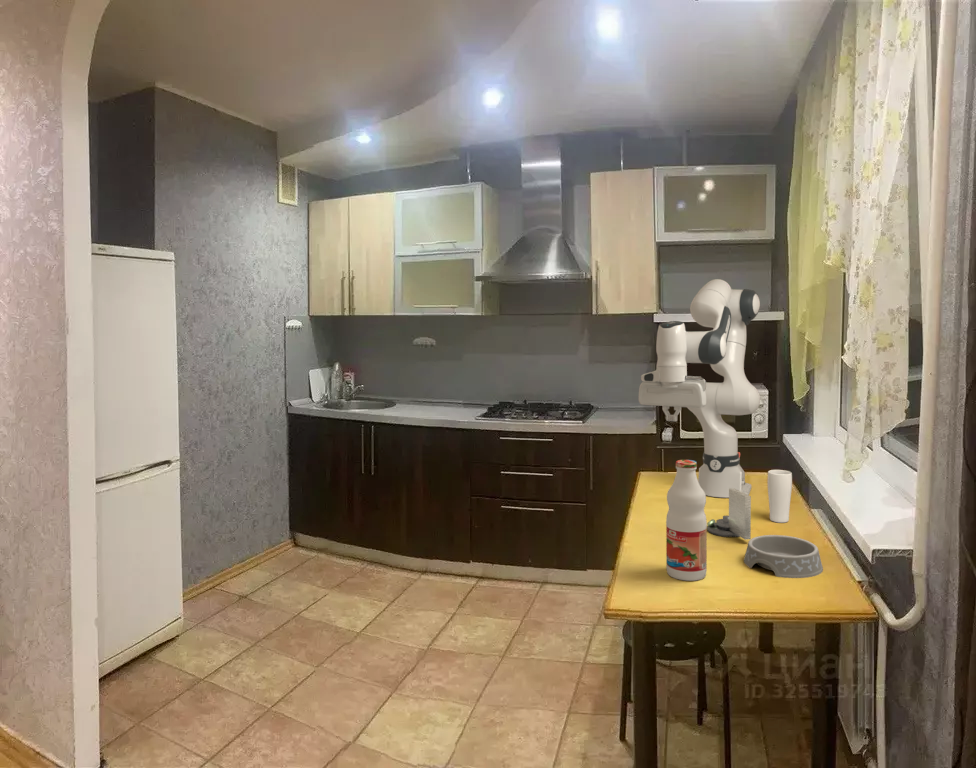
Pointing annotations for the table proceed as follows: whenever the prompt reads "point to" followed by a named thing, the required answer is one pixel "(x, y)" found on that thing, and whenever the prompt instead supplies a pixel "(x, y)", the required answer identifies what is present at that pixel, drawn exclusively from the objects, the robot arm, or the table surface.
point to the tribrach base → (719, 530)
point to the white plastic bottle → (686, 525)
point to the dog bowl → (784, 556)
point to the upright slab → (737, 514)
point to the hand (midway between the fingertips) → (671, 421)
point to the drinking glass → (779, 494)
